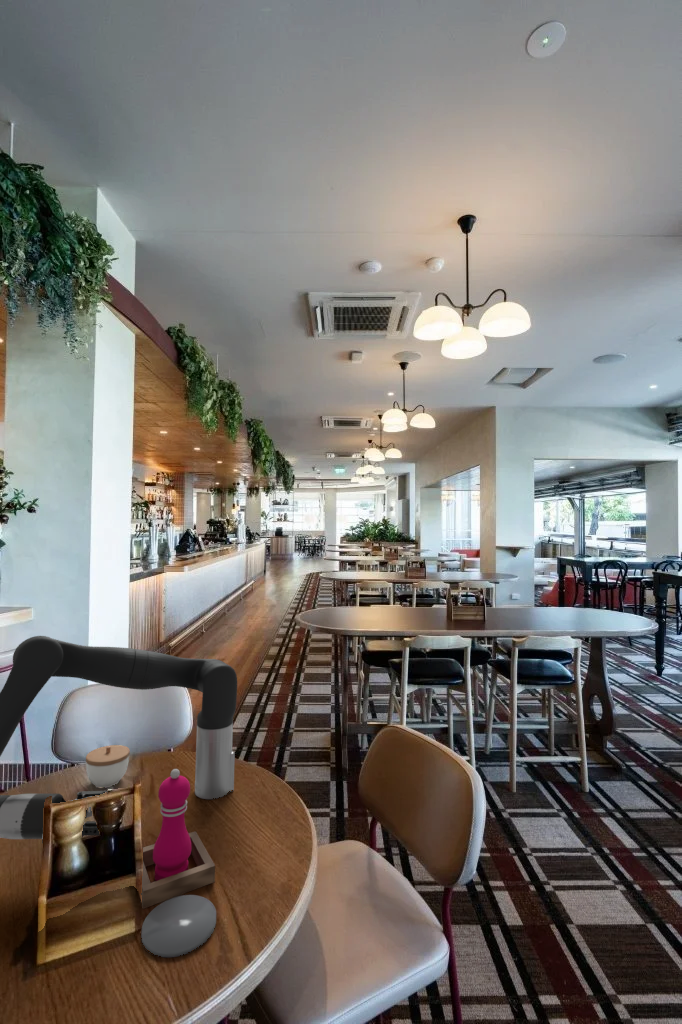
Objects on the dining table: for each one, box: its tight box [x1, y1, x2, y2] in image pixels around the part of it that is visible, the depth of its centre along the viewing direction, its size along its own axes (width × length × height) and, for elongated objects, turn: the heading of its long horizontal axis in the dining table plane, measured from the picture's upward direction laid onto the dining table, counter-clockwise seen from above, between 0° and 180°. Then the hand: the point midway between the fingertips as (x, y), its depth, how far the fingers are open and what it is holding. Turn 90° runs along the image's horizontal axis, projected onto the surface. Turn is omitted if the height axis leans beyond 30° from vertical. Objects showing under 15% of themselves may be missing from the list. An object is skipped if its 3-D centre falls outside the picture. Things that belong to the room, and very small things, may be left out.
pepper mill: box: [153, 768, 192, 881], centre depth 95 cm, size 7×7×20 cm
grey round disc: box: [140, 894, 217, 958], centre depth 81 cm, size 12×12×1 cm
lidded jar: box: [85, 744, 131, 789], centre depth 130 cm, size 11×11×9 cm
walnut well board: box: [141, 831, 216, 910], centre depth 94 cm, size 13×13×3 cm
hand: (115, 815), depth 94 cm, fingers open, 8 cm apart
